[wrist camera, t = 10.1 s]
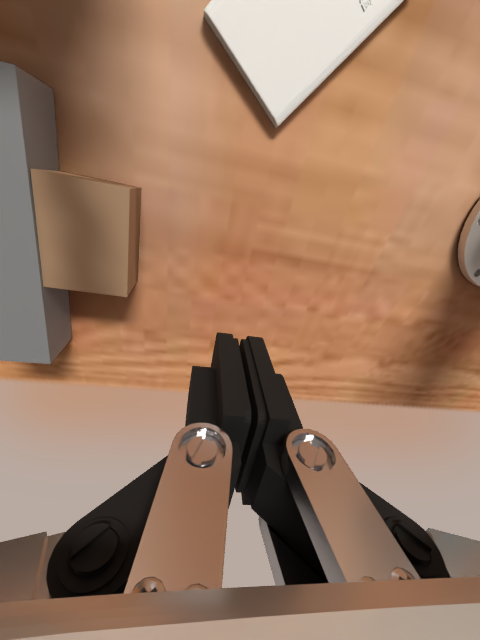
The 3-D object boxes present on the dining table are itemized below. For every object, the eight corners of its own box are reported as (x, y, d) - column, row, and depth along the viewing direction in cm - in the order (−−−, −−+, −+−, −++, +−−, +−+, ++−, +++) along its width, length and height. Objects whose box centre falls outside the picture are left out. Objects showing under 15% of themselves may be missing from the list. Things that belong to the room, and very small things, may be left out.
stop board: (53, 89, 19) (14, 64, 15) (72, 337, 27) (50, 363, 23) (-14, 72, 18) (-73, 41, 14) (26, 333, 27) (-4, 360, 23)
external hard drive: (203, 21, 19) (352, -157, 16) (274, 129, 22) (407, -4, 20) (203, 7, 18) (366, -190, 15) (279, 126, 21) (423, -18, 18)
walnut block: (141, 187, 23) (129, 188, 19) (138, 279, 26) (127, 297, 22) (61, 171, 21) (30, 168, 17) (68, 269, 25) (43, 286, 21)
